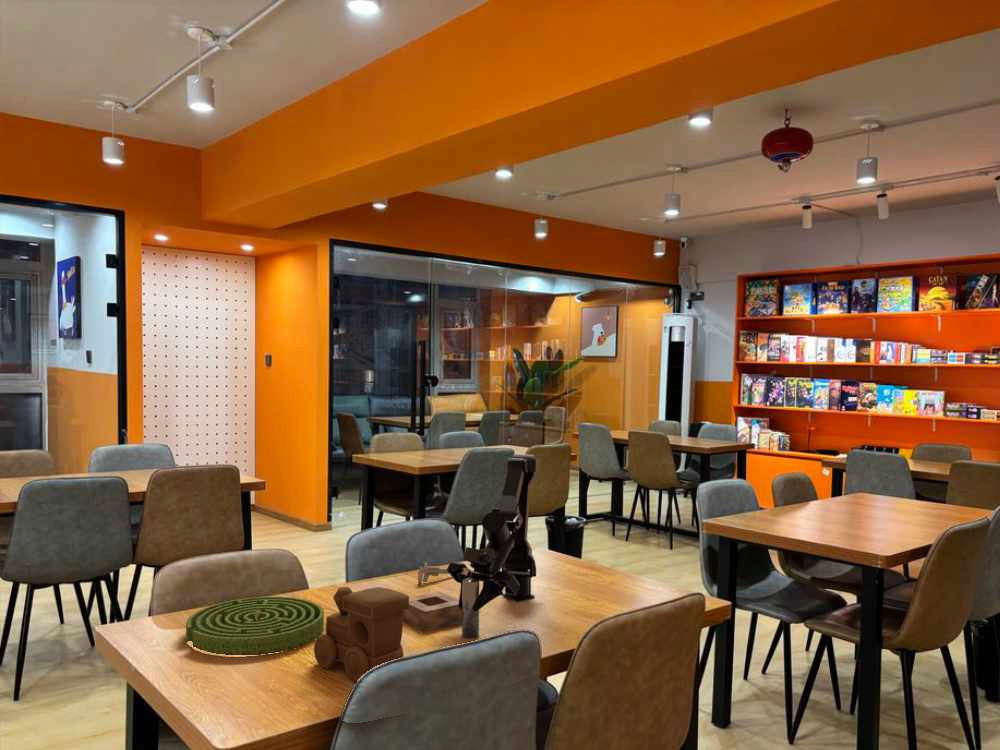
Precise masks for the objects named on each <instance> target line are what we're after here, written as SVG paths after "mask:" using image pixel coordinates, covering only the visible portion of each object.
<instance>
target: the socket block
mask: <svg viewBox="0 0 1000 750" xmlns="http://www.w3.org/2000/svg"><path fill="white" fill-rule="evenodd" d="M458 604H459V598H455V597H452V596H450V595H448V594H446V593H443V592H441V591H435V592H429V593H424V594H420V595H415V596H409V609H406V610H403V623H405V624H407V625H410V626H411V627H413V628H415V629H417V630H419V631H421V632H423V633H426V632H429V631H434V630H437V629H441V628H446V627H447V628H448V627H451V626H454V625H458V624H462V608H460V607H459V606H458Z"/></svg>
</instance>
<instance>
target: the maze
mask: <svg viewBox="0 0 1000 750" xmlns="http://www.w3.org/2000/svg"><path fill="white" fill-rule="evenodd" d="M324 615H325V612H324V608H323V607H322V606H321V605H319V604H318V603H316V602H314V601H312V600H307V599H304V598H298V597H293V596H292V597H288V596H258V597H257V596H256V597H247V598H238V599H233V600H228V601H223V602H219V603H216V604H212V605H210V606H206V607H204V608H202V609H199V610H198V611H196V612H194V613H193V614H192V615H190V616H189V617H188V618H187V620H186V623H185V639H186V638H187V642H188V641H192V642H193V647H196V648H198V649H200V650H204V651H207V652H211V653H216V654H225V655H261V654H268V653H275V652H281V651H286V650H290V651H292V650H291V649H294V648H296V649H299V648H301V647H304V646H307V645H309V644H311V643H313V642H315V641H316V640H315V639H317V638H318V637H319V636H320V635H322V634H323V633H324V631H325V630H324V629H325V628H324V626H325V625H324V622H325V621H324V620H325V618H324ZM322 632H323V633H322ZM314 640H315V641H314ZM312 641H313V642H312ZM187 642H186V643H187ZM310 642H311V643H310ZM308 643H309V644H308ZM306 644H307V645H306ZM298 647H299V648H298ZM294 650H295V649H294ZM286 652H287V651H286Z"/></svg>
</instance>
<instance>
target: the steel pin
mask: <svg viewBox="0 0 1000 750" xmlns="http://www.w3.org/2000/svg"><path fill="white" fill-rule="evenodd" d="M479 594H480V581H479V579H476V578H466V579H463V580H462V623H461V636H462V638H465V639H476V638H478V637H479V636H480V609H479V610H478V611H476V612H474V610H473V607H474V604H475V602H476V600H477V598H478V596H479Z"/></svg>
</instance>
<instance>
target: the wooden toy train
mask: <svg viewBox="0 0 1000 750" xmlns="http://www.w3.org/2000/svg"><path fill="white" fill-rule="evenodd" d="M332 598H333V600H334V604H335V605H336V607H337V610H338V612H335V613H331V614H330V615H328V616H326V621H325V634H324V633H322V634H321V635H320V636H319V637H318V638H317V639H316V640H315V641H314V645H313V655H314V657H315V660H316V662H317V664H318V665H320V667H322V668H324V669H328V670H330V669H332V668H333V667H334V666H335V665H336V663H337V662H338V661H339V662H341V663H344V664H343V665H344V669H345V671H346V675H347V676H348V677H349V678H350V679H351V680H352V681H354V682H356V681H357V680H358V679H359V678H360V677H361V676H362V675H363V674H365V673H366V672H367V671H369V670H370V669H372V668H373V667H375V666H377V665H380V664H382V663H385V662H388V661H391V660H394V659H398V658H402V657H403V658H404V649H403V646H402V636H403V627H404V622H403V610H406V609H409V598H410V596H409V595H408V594H405V593H403V592H401V591H397V590H394V589H391V588H387V587H380V586H377V587H371V588H366V589H362V590H358V591H354V592H353V590H352V589H351V587H349V586H342V587H341V586H340V587H338V589H337V590H336V592H335V594H334V595H333V597H332Z"/></svg>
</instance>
